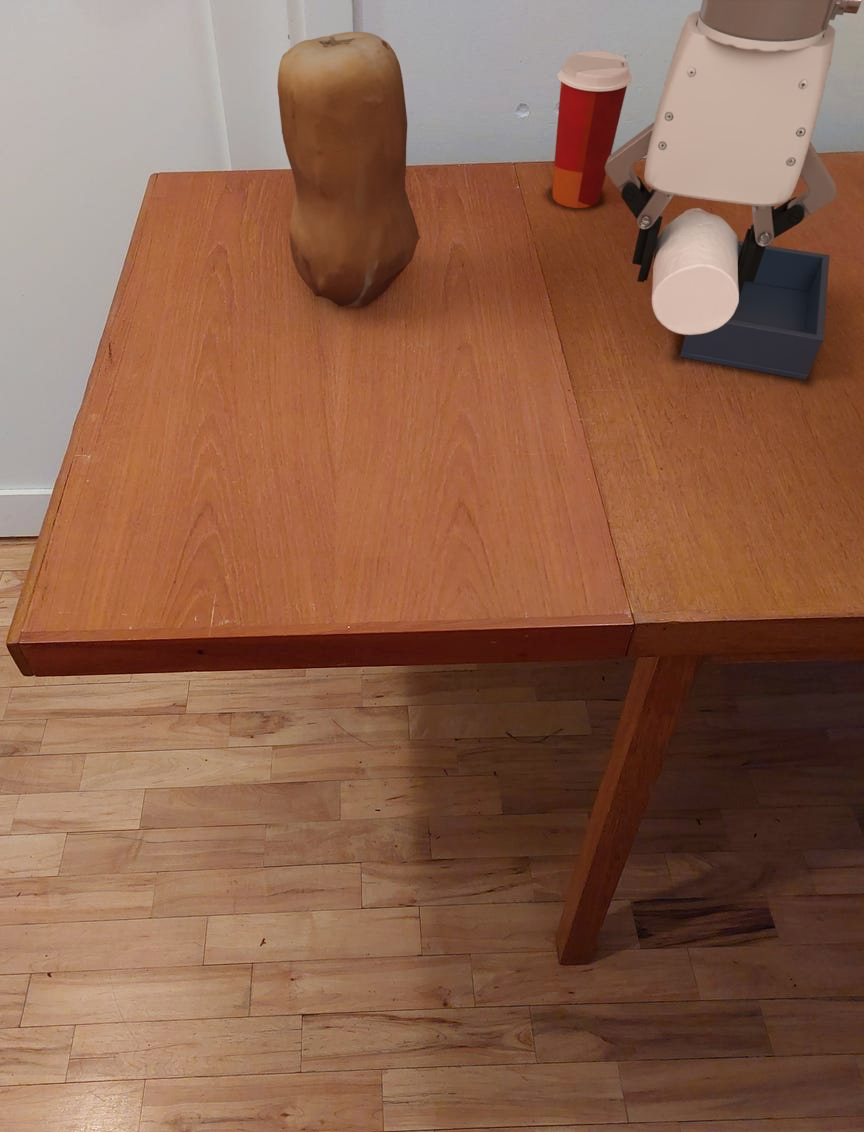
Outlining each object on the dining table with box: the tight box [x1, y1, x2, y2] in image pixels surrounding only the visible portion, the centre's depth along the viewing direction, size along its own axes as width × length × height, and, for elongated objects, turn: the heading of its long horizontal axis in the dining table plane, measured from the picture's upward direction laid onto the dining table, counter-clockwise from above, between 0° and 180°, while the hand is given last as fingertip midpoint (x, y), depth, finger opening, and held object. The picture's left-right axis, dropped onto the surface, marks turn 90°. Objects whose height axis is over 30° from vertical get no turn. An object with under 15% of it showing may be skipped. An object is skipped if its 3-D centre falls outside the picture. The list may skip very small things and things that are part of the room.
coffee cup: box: [552, 50, 633, 209], centre depth 106 cm, size 8×8×15 cm
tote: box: [679, 240, 831, 381], centre depth 93 cm, size 16×12×5 cm
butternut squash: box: [277, 31, 421, 308], centre depth 89 cm, size 14×13×25 cm
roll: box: [651, 207, 739, 336], centre depth 66 cm, size 6×12×6 cm, turn 167°
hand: (690, 278), depth 68 cm, fingers closed on roll, 6 cm apart
